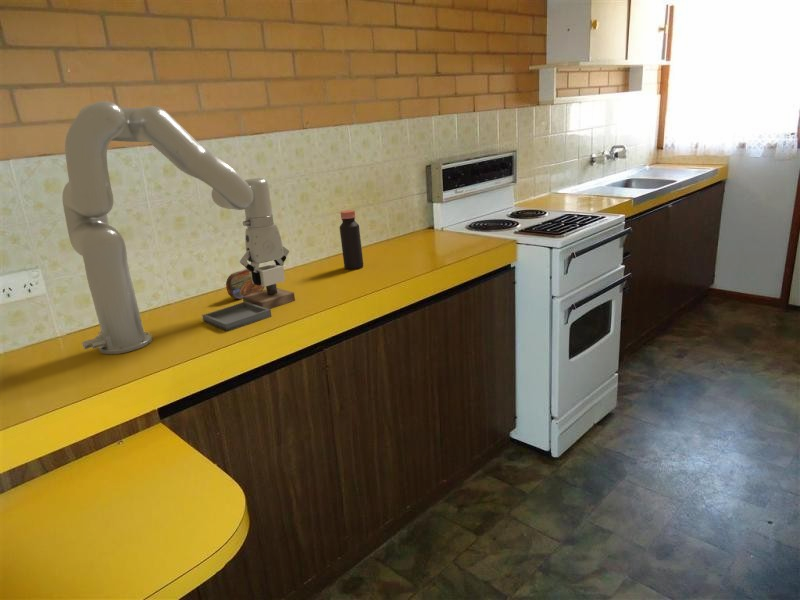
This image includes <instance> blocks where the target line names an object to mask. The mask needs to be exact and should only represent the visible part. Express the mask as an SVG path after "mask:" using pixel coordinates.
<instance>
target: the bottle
mask: <svg viewBox="0 0 800 600" xmlns="http://www.w3.org/2000/svg"><path fill="white" fill-rule="evenodd" d="M339 214H340V219H341V221H342V223H341V224H340V226H339V234H340V242H341V249H342V258H343V267H344V269H345V270H348V271H349V270H350V271H351V270H359V269H362V268H363V267H364V256H363V249H362V241H361V240H362V239H361V231H360V225H359V223H358V222H357V221H356V213H355V210H353V209H351V210H350V209H349V210H342V211H340V212H339Z"/></svg>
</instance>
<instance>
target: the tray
mask: <svg viewBox="0 0 800 600" xmlns="http://www.w3.org/2000/svg"><path fill="white" fill-rule="evenodd" d="M271 310H272V309H267V308H264V307H261V306H258V305H255V304H252V303H248V302H243V301H242V302H240V303H237V304H234V305H231V306H230V305H229V306H227V307H224V308H220V309H217V310H214V311H211V312H208V313H205V314H202V316H201V317H202V320H203V323H205V324H208V325H209V326H212V327H216V328H217V329H220V330H221V331H222V330H223V331H225V332H230V331H233V330H235V329H239V328H241V327H245V326H248V325H250V324H254V323H256V322H259V321H262V320H266V319H267V318H271V317H272V312H271Z"/></svg>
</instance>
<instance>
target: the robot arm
mask: <svg viewBox="0 0 800 600" xmlns="http://www.w3.org/2000/svg"><path fill="white" fill-rule="evenodd" d="M64 142H65V143H64V152H65V162H66V169H67V176H68V177H67V178H68V182H67V183H66V184H65V185H64V187H63V191H62V206H63V212H64V216H65V222H66V227H67V233H68V238H69V242H70V244H71V246H72V248H73V250H74V251H75V252H76V253H77V254H78V255H80V256H81V257H82V260H83V264H84V270H85V273H86V274H85V275H86V279H87V283H88V287H89V291H90V294H91V298H92V301H93V306H94V310H95V312H96V316H97V320H98V324H99V327H100V331H99V332H97V334H98V335H97V336H96V335H95V338H92V339H88V340H84V341H82V343H81V344H82V346H83V349H84V350H86V349H90V348H92V350H93V349H96V348H98V351H99V352H100V353H101V354H104V355H119V354H124V353H129V352H133V351H136V350H138V349H141V348H143V347H145V346H147V345H149V344H150V343H151V342H152V341H153V336H152V334H151V332H146V331H144V326H143V322H142V318H141V313H140V311H139V306H138V305H139V304H138V301H137V297H136V293H135V290H134V285H133V282H132V278H131V273H130V268H129V262H128V254H127V248H126V247H127V246H126V242H125V240H124V237H123V236H122V235H121V233H120V231H119V230H117V229H116V228H115V227H113V226H111V225H110V223H109V219H108V214H109V213H110V212H111V210H112V209H113V207H114V194H113V190H112V184H111V179H110V173H109V166H108V158H107V157H108V148H109V145H110V143H111V142H126V143H128V142H129V143H130V142H131V143H148V142H149V144H151V145H152V146H153V147H154V149H156V150H157V151H159V152H160V154H161V155H163V156H164V157H165V158H166V159H167V160H168V161H170V162H171V163H172V164H173V165H174V166H175V167H176V168H177V169H178V170H180V171H181V172H183V173H184V174H187V175H188V176H189V177H193V178H196V179H198V180H200V181H201V182H203V183H204V184H206V185H208V186H209V187H211V188H212V190H211V198H212V201H213V202H214V204H215V205H217V206H218V207H220V208H223V209H228V210H234V211H237V210H238V211H243V210H244V212H245V213H244V214H245V220H243V221H242V225H243V226H244V227H245V226H246V227H247V228H245V236H244V238H245V239H244V241H245V253H244V254H243V256H242V257H241V259H240V260H239V263H240V264H241V265H242V266H243V267H245V268H244V269H246V268H247V269H248V270H249V271H250V272H251V273H252V280H253V282H254V284H255V285H261V279H260V273H259V272H258V268H259V266H260V264H264V263H268V262H272V261H273V263H274V265H279V266H283V267H284V264H285V261H286V259H287V257H288V255H289V253H290V250H289V249H287V248H286V247H285V246H283V242H282V237H281V234H280V231H279V228H278V226H277V224H275V223H274V217H273V210H272V203H271V202H272V201H271V196H270V189H269V183H268V180H267V179H266V178H263V177H262V178H260V177H257V178H255V177H254V178H248V179H244V178H243V177H242V176H241V175H240V174H239V173H238V172H237V171H235V169H234V168H232V167H231V166H230V165H229V164H227V163H226V162H225V161H223V160H222V159H220V158H219V157H217V156H216V155H215V154H214V153H213V152H212V151H210V150H208V149H207V148H205V147H204V146H203V145H202V144H200V143H199V142H198V141H197V140H196V138H194V137H193V136H192V135H191V134H190V133H189V131H187V130H186V129H185V128H184V127H183V126H182V125H181V124H180V123H179V122H178V121H177V120H176V119H175V118H174V117H173V116H172V115H170V114H169V112H167V111H166V110H165V109H163V108H162V107H159V106H155V105H148V106H143V107H120V106H119V105H118V104H116V103H114V102H112V101H107V100H100V101H99V100H98V101H96V102H92V103H90V104H87V105H85V106H83V107H82V108H81V109H80V110H79V112H78V114H77V115H76V116H75V118H74V119H73V121H72V123H71V124H70V126H69V128H68V131H67V133H66V135H65V141H64ZM248 262H250V263H248Z"/></svg>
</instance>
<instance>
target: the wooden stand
mask: <svg viewBox="0 0 800 600" xmlns="http://www.w3.org/2000/svg"><path fill="white" fill-rule="evenodd" d="M265 288H266V289H263V290H262V291H260V292H257V293H253V294H250V295H247V296H244V297H243V299H242V303H243V302H248V303H252V304H255V305H258V306H261V307H264V308H267V309H270V310H272V309H274V308H276V307H279V306H283V305H286V304H289V303H291V302H292V303H293V302H294V301H296V299H295V298H296V297H295V292H294V291H291V290H290V291H289V290H286V289H282V288H278V287H277V283H276V284H273V285H269V286H266V287H265Z"/></svg>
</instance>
